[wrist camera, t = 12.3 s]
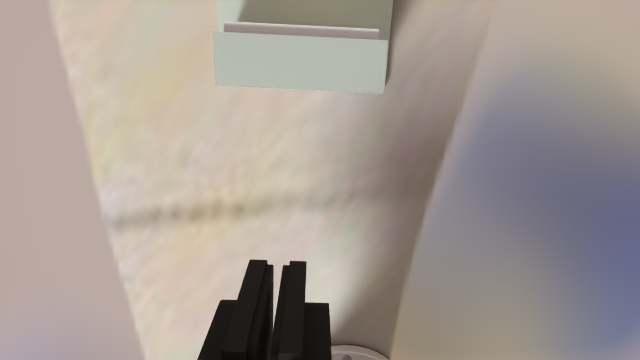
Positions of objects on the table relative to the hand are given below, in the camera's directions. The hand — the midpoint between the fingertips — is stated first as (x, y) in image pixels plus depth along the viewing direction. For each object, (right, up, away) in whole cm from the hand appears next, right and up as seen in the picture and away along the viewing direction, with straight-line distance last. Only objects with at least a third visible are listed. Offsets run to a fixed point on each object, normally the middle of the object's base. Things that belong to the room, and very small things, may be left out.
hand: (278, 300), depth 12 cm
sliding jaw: (0, +13, +14) cm, 19 cm away
